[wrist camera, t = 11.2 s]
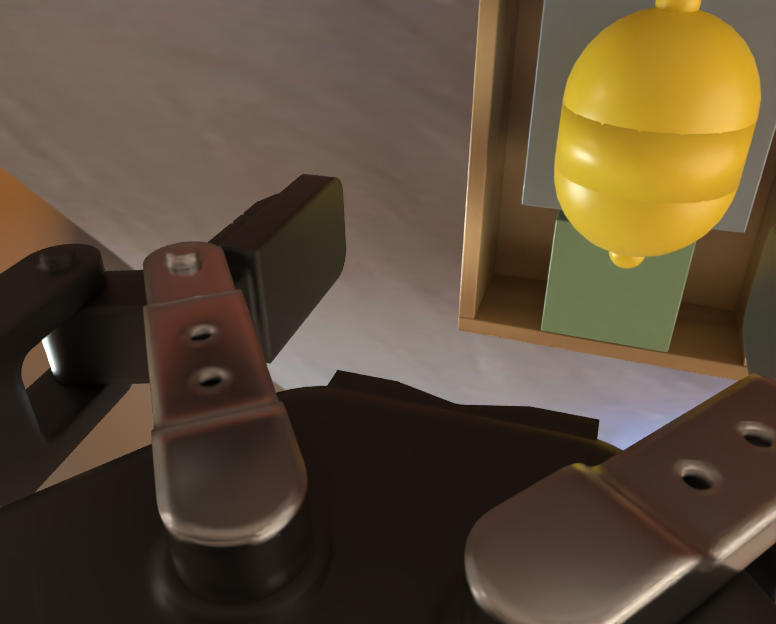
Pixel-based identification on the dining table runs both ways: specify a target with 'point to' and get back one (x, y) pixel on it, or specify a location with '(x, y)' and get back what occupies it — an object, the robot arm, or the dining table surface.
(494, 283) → the crate
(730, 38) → the lemon
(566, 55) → the block grey
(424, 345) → the dining table surface
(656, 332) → the block sage
